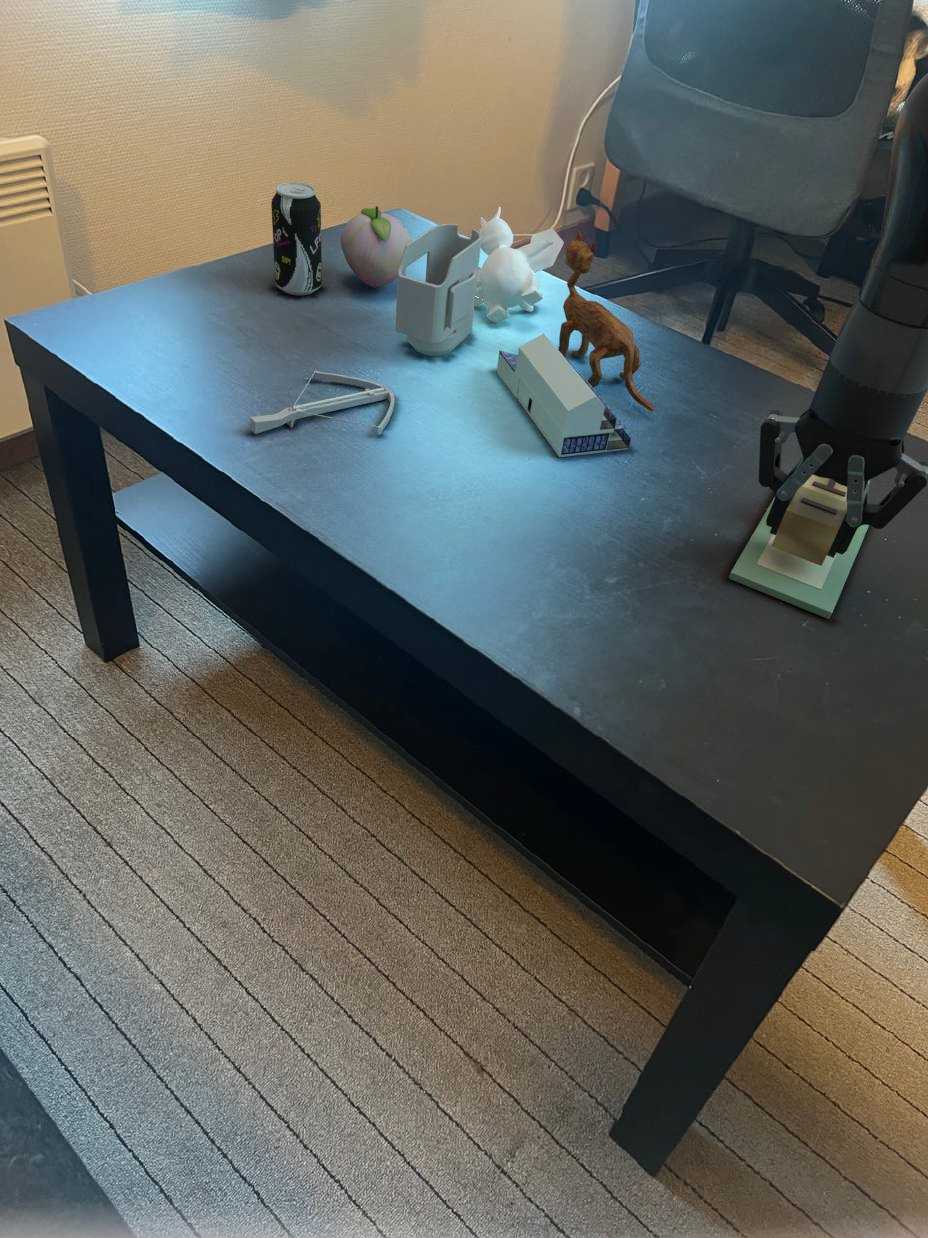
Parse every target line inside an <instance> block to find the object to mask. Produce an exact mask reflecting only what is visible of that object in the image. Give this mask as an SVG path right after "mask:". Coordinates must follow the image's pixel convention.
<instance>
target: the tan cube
mask: <svg viewBox="0 0 928 1238" xmlns="http://www.w3.org/2000/svg"><path fill="white" fill-rule="evenodd" d="M846 513H847V502H844V501H841V500H839V499H836V498H833V497H830V496H828V495H825V494H822V493H820V492H817V491H814V490H811V489H809V488H806V487H803V486H801V487H800V488H799V489H798V490H797V491H796V493H795V495H794V497H793V499H792V500H791V502H790V504H789V506H788V508H787V509H786V512H785V514H784V517H783V519H782V521H781V524H780V526H779V529H778V531H777V533H776V536H775V538H774V541H773V543H772V547H774V548H777V549H779V550H782V551H784V552H787V553H789V554H792V555H794V556H797V557H800V558H802V559H805V560H807V561H810V562H812V563H815V564H817V565H820V566H822V564H823V562H824V560H825V558H826V556H827V554H828V552H829V550H830V547H831V545H832V543H833V541H834V539H835V537H836V535H837V533H838V530H839V528H840V526H841V524H842V522H843V520H844V517H845V515H846Z"/></svg>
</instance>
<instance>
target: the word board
mask: <svg viewBox="0 0 928 1238" xmlns="http://www.w3.org/2000/svg"><path fill="white" fill-rule="evenodd" d="M774 499H775V496H774V497H773V499H772V500H771V502H770V504H769V505H768V507H767V509H766V511H765V513H764V514H763V516H762V518H761V520H760V521H759V523H758V525H757V526H756V528H755V530H754V532H753V533H752V535H751V536H750V538H749V540H748V541H747V544H746V545H745V546H744V548H743V550H742V552H741V554H740V555H739V557H738V559H737V560H736V563H735V564H734V566H733V568H732V569H731V571H730V572H729V575H728V580H731V581H734V582H736V583H738V584H741V585H743V586H746V587H748V588H751V589H753V590H756V591H758V592H761V593H763V594H765V595H768V596H771V597H773V598H775V599H777V600H780V601H784V602H785V603H788V604H791V605H792V606H795V607H797V608H800V609H802V610H804V611H807V612H810V613H812V614H815V615H816V616H817V615H818V616H820V617H822V618H825V619H827V620H830V619H831V616H832V615H833V612H834V610H835V607H836V606H837V604H838V601H839V598H840V596H841V594H842V591H843V588H844V586H845V583H846V582H847V579H848V577H849V575H850V572H851V570H852V568H853V565H854V562H855V560H856V559H857V555H858V553H859V551H860V548H861V546H862V543H863V541H864V539H865V536H866V534H867V531H868V529H869V527H870V525H862V526H860V527H859V528H858V529H857V531H856V533H855V535H854V537H853V539H852V541H851V543H850V545H849V547H848V549H847V551H846V552H845V553H844V554H839V553H836V555H835V557H834V558H832V557H829V556H826V558H825V560H824V562H823V564H822V566H820V565H817V564H815V563H812V562H810V561H807V560H805V559H802V558H800V557H797V556H794V555H792V554H789V553H787V552H784V551H782V550H779V549H777V548H774V547H772V543H773V541H774V538H775V536H776V535H773V534H770V530H771V528H772V527H769V526H767V525H766V519H767V517H768V514H769V512H770V509H771V507H772V504H773V502H774Z"/></svg>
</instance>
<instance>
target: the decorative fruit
mask: <svg viewBox="0 0 928 1238" xmlns="http://www.w3.org/2000/svg"><path fill="white" fill-rule="evenodd" d="M411 241H412V237H411V235H410V232H409V231H408V229H407V228H406V226H405V225H404V224H403V223H402V222H401V221H400V220H399V219H397V218H396V217H394V216H393V215H390V214H387V213H384V212H382V211H381V210H379V206H378V205H375V208H373V207H370V208H368V207H364V208H362V209H361V210H360V213H359V214H357V215H355V216H354V217H352V218H351V219H349V220H348V221H347V223H346V224H345V225H344V227H343V230H342V232H341V234H340V246H341V250H342V254H343V256H344V258H345V262H346V263H347V265H348V267H349V268H350V270H351V271H352V272H353V273H354V275H355V276H356V277H357V278H359V279H360V280H361V281H362V282H363V283H364V284H365V285H367V286H369V287H371V288H373V289H376V288H380V287H384V286H387V285H390V284H392V283H394V282H395V281H397V280H398V269H399V265H400V262H401V258H402V255H403V252H404V248H405V245H406V244H408V243H409V242H411Z"/></svg>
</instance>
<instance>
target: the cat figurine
mask: <svg viewBox="0 0 928 1238" xmlns="http://www.w3.org/2000/svg"><path fill="white" fill-rule="evenodd" d="M597 244H598V241H597V240H595V241H592V243H590V244H587V243H586V242H584V241H583V237H582V233H581V231H580V230H578V231H577V232H576V237H575V239H574V240H572V241H569V242H568V243H567V244H566V247H565V264H566V266H567V267H568V268H569V269H571V270H572V272H573V273H572V274H571V275H570V277H569V278H568V280H567V283H566V286H567V288H568V292H569V295H568V296H567V297H566V299H565V300H564V302H563V306H562V309H563V312H564V316H565V320H566V321H564V322H562V323H561V325H560V331H559V336H558V337H559V338H558V339H559V340H558V350H559V351H560V352H561V353H562V355H564V356H565V358H566V359H567V356H568V352H569V347H570V338H571V335H572V333H573V332H575V331H577V332H579V333H580V334H581V342H580V346H579V348H578V349H577V350H572V351H571V355H572V356H574V357H577V358H579V357H584V356H585V355H586V354H587V353H588V350H589V347H590V344H591V345H592V346H593V348H594V349H593V350H591V351H590V353H589V356H588V365H589V367H590V370H591V373H592V374H591V376H589V377H588V379H587V381H588V382H589V384H590V385H591V386H592V387H593V388H595V387H597V386H598V385H599V384H600V383H601V382H602V379H603V374H602V369H601V360H604V359H611V358H615V357H618V356H622V355H623V358H624V360H623V371H621V372H619V373H618V376H619V378H620V379H621V380H622V381H624V384H625V387H626V390H627V392H628V394H629V395H630V396H631V398H632V399H634V401H636V402H637V403H638V404H639V405H641V406H643V407H644V408H645V409H647V410H648V411H651V412H654V411H655V410H656V407H655V406H654V405H653V403H651V402H650V401H649V400H647V399H646V398H645V397H644V396H643V395H642V394H641V393H640V392H639V391H638V389H637V387H636V386H635V383H634V380H633V375H634V374H635V373H636V372H637V371H638V370H639V368H640V367H641V365H642V362H641V355H640V348H639V347H638V346H637V345H636V344H635V337H634V333H633V331H632V329H631V328H630V327H629V326H628V325H627V324H625V323H624V322H623V321H622V320H621V319H619V318H618V317H617V316H616V315H615V314H613V313H612V312H611V311H610V310H609V309H607V307H606V306H604V305H603V304H602V303H600V302H598V301H595V300H587V299H586V298H584V297H583V296H582V295H581V294H579V292H578V291H577V289H576V286H575V285H576V283H577V282H578V280H579V278H580V276H581V275H583V274H588V273H589V272H590V270H591V267H592V263H593V257H594V253H595V252H596V249H597Z"/></svg>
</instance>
